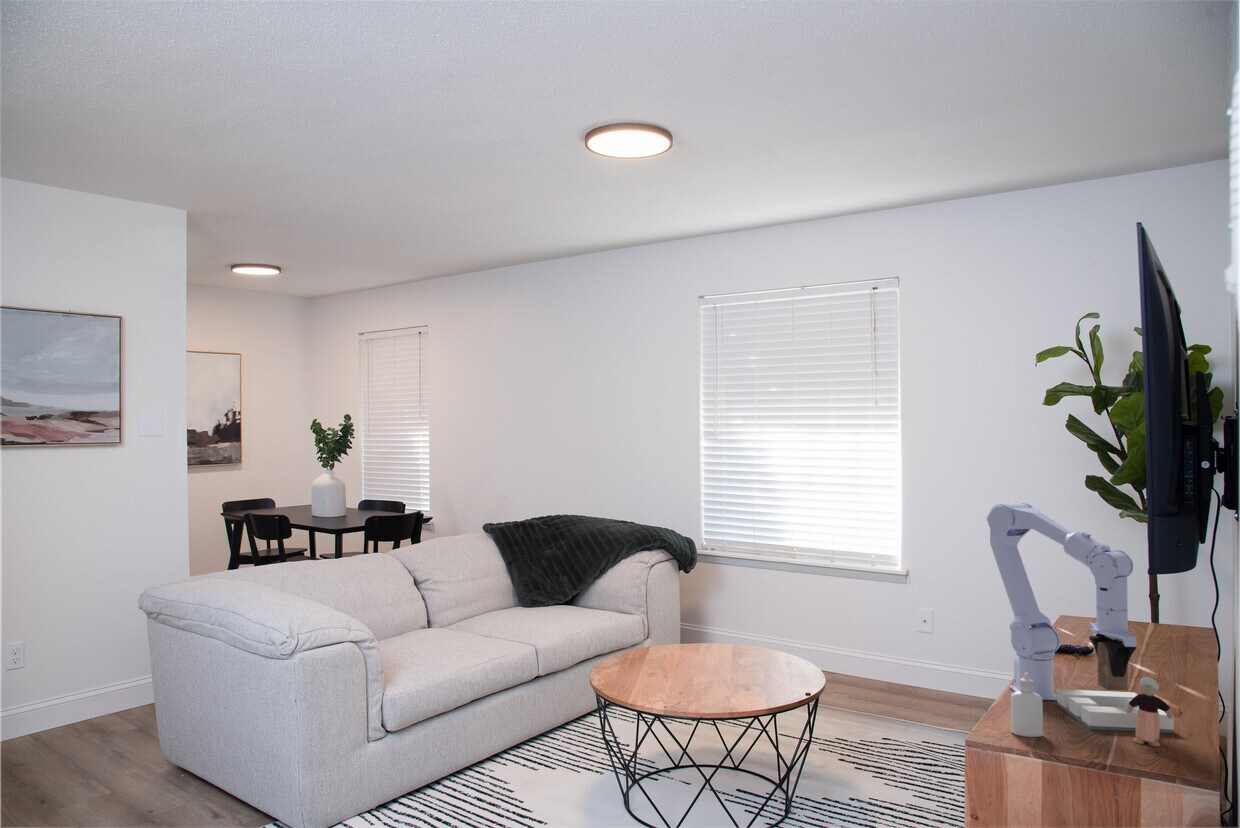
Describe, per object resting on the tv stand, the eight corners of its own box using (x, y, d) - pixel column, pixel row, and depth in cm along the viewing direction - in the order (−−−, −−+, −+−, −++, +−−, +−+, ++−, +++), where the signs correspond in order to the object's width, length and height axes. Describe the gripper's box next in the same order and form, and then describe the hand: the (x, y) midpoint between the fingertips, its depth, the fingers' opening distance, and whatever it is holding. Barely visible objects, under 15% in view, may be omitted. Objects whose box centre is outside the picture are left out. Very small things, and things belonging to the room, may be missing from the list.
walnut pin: (1098, 684, 180) (1097, 642, 180) (1117, 685, 180) (1116, 642, 180) (1108, 690, 176) (1107, 646, 176) (1127, 690, 176) (1127, 646, 176)
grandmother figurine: (1128, 743, 162) (1128, 677, 163) (1124, 737, 166) (1124, 672, 166) (1175, 749, 159) (1174, 681, 160) (1170, 742, 163) (1169, 676, 163)
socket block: (1057, 705, 186) (1057, 689, 186) (1133, 708, 184) (1133, 692, 185) (1089, 729, 170) (1089, 711, 170) (1173, 733, 169) (1173, 715, 169)
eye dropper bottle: (1014, 728, 170) (1014, 668, 171) (1044, 734, 167) (1044, 673, 167) (1008, 733, 167) (1008, 672, 167) (1039, 740, 163) (1039, 677, 164)
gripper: (1075, 601, 186) (1075, 664, 185) (1111, 615, 171) (1111, 682, 171) (1108, 602, 185) (1108, 664, 185) (1146, 615, 171) (1147, 683, 170)
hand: (1112, 673), depth 178 cm, fingers closed on walnut pin, 4 cm apart
